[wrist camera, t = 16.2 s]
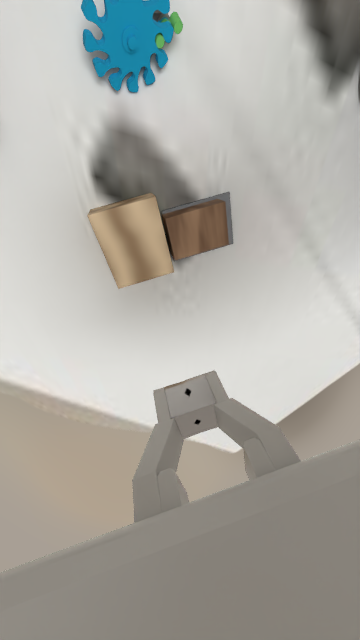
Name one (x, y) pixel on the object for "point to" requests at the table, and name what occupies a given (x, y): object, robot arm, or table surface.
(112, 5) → the blue lobed piece
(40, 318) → the table surface
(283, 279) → the table surface
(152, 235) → the oak step
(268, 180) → the table surface
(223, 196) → the felt pad
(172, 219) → the walnut slab
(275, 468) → the robot arm
